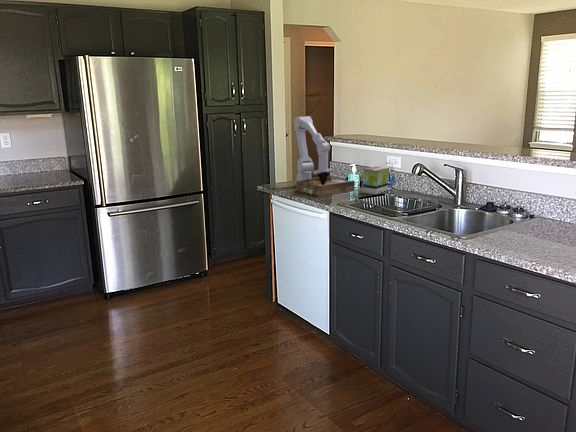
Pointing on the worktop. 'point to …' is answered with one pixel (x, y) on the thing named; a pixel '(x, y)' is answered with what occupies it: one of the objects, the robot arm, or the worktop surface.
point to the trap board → (324, 187)
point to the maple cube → (314, 182)
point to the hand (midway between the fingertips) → (323, 184)
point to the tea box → (375, 180)
